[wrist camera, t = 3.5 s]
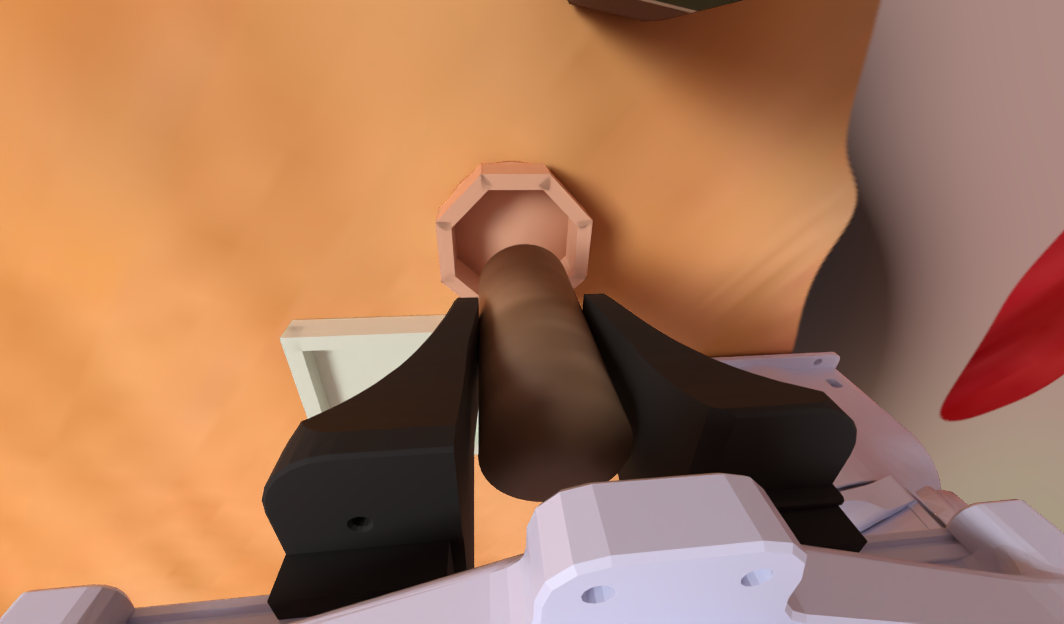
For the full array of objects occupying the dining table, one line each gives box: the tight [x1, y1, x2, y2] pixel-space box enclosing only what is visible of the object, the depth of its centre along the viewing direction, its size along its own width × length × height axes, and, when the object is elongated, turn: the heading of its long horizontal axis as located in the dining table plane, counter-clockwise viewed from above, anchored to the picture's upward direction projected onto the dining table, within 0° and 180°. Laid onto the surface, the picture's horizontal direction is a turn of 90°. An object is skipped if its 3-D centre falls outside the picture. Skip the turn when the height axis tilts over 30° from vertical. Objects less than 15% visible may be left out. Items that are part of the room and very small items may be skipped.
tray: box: [280, 315, 478, 455], centre depth 23 cm, size 12×9×2 cm
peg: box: [478, 244, 633, 502], centre depth 12 cm, size 3×3×8 cm
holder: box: [435, 161, 593, 299], centre depth 18 cm, size 6×6×2 cm
